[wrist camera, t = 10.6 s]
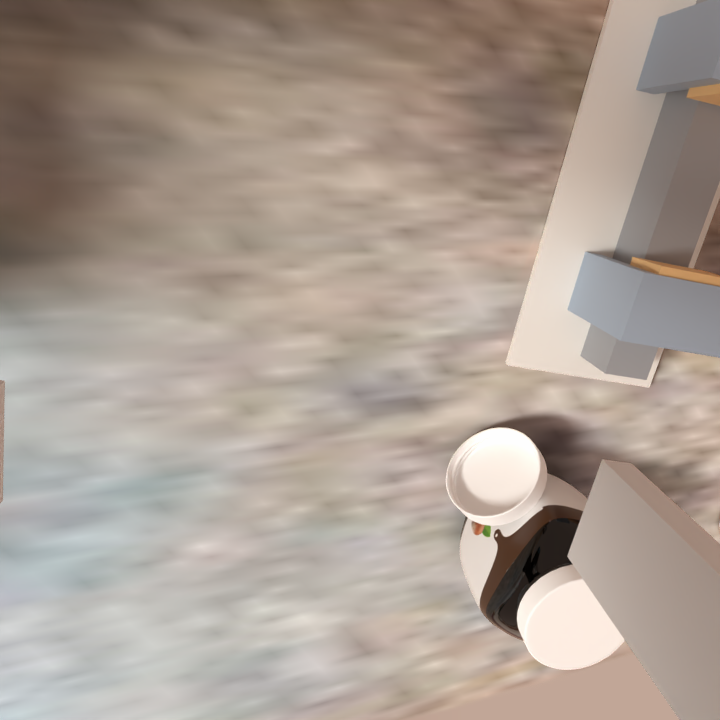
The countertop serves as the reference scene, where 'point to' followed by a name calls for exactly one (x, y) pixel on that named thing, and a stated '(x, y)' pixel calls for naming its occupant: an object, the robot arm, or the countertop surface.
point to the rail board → (619, 199)
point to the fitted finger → (685, 54)
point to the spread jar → (526, 550)
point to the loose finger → (650, 303)
